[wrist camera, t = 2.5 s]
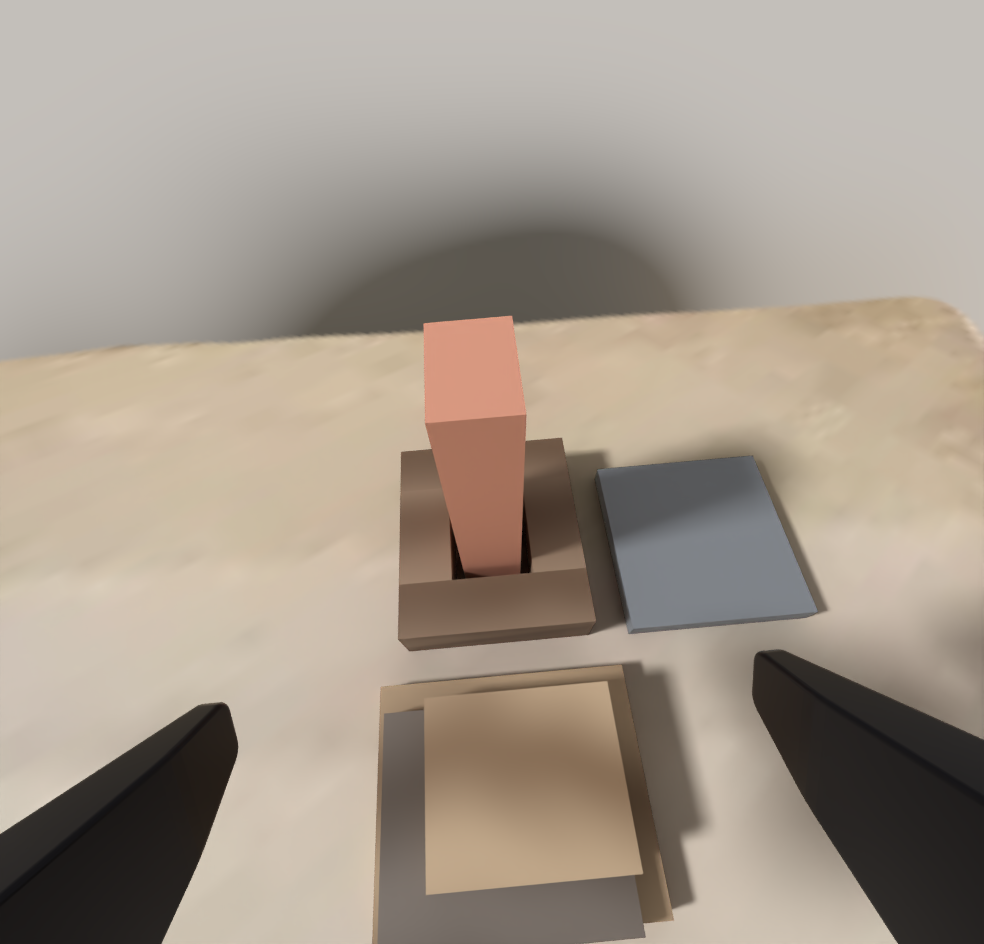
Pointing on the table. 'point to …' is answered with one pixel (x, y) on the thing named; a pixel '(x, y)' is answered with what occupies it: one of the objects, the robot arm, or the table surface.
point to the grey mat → (699, 546)
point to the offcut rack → (508, 748)
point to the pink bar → (478, 438)
